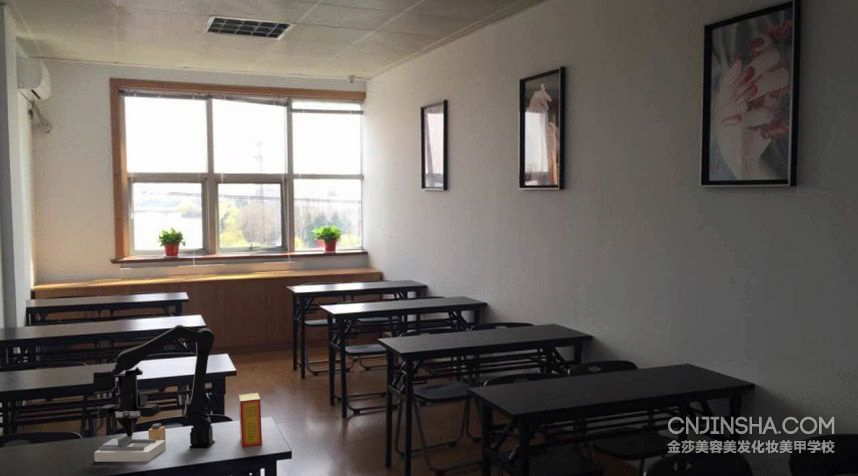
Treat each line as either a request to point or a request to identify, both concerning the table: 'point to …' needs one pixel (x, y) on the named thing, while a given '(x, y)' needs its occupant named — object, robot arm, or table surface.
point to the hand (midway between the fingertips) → (130, 436)
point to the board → (131, 451)
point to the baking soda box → (250, 420)
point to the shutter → (119, 442)
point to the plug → (157, 432)
